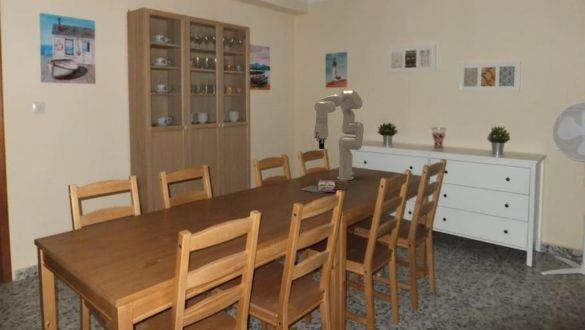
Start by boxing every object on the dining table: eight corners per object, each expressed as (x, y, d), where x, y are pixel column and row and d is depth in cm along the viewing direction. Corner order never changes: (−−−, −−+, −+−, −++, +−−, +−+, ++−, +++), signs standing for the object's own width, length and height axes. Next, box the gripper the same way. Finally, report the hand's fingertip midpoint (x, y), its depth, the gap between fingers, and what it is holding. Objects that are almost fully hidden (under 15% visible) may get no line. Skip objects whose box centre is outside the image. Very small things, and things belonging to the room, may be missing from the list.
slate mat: (312, 186, 302) (312, 185, 301) (334, 189, 291) (334, 188, 291) (299, 190, 290) (299, 189, 290) (322, 193, 279) (322, 192, 279)
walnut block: (338, 187, 297) (338, 179, 296) (347, 188, 295) (347, 179, 294) (335, 189, 292) (335, 180, 291) (344, 190, 289) (344, 181, 288)
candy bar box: (318, 186, 297) (317, 191, 281) (318, 179, 297) (317, 184, 280) (334, 187, 296) (335, 192, 280) (335, 179, 296) (335, 184, 280)
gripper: (323, 120, 295) (323, 147, 298) (310, 121, 283) (310, 149, 286) (333, 120, 290) (332, 148, 293) (320, 121, 279) (319, 150, 282)
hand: (321, 149), depth 290 cm, fingers closed
